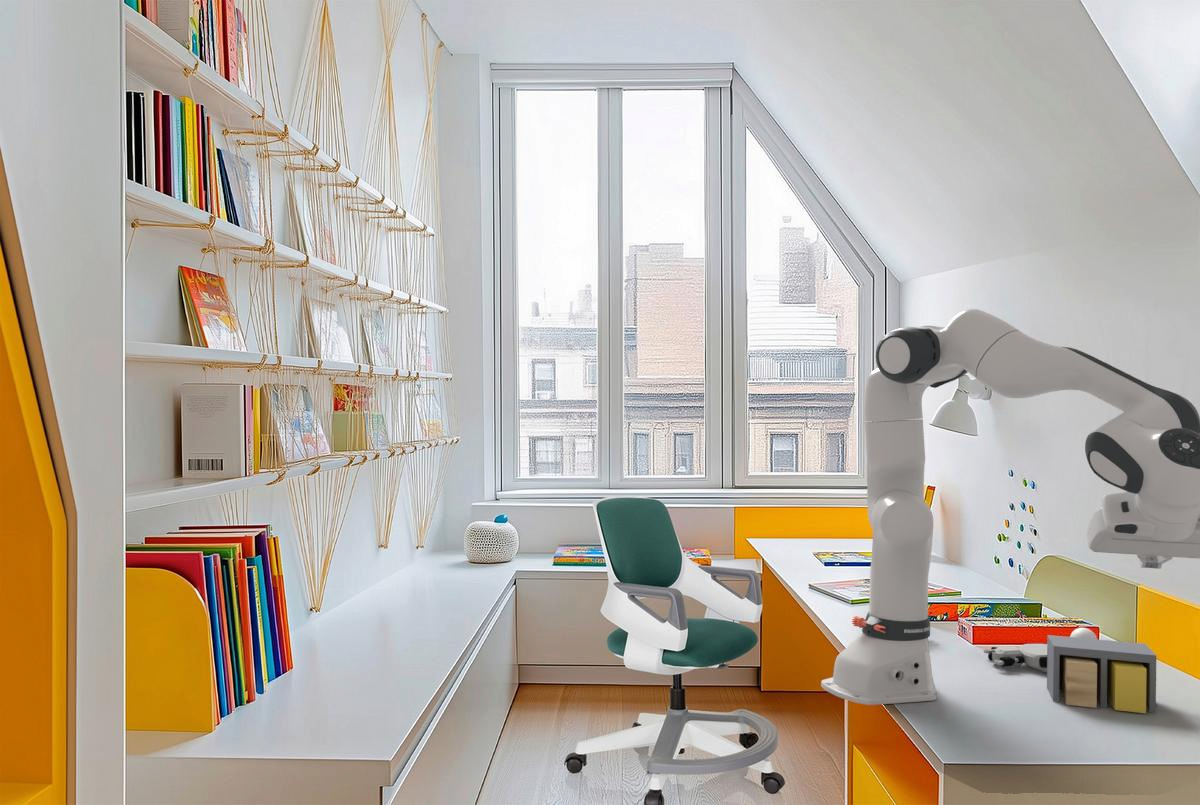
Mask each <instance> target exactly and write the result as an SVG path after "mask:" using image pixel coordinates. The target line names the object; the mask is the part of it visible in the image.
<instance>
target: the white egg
mask: <svg viewBox="0 0 1200 805" xmlns="http://www.w3.org/2000/svg"><path fill="white" fill-rule="evenodd" d="M1069 637H1075V638H1087V639H1098V637H1097V635H1096V633H1095V632H1093V630H1091V629H1089V628H1086V627H1078V628H1075V629H1074V630H1073V631H1072V632H1071V634H1070V636H1069Z"/></svg>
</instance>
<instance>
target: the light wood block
mask: <svg viewBox="0 0 1200 805" xmlns="http://www.w3.org/2000/svg"><path fill="white" fill-rule="evenodd" d="M1059 693H1060V695H1061V696H1062V698H1063V700H1064V703H1065V705H1067V706H1078V707H1087V708H1095V709H1097V706H1098V702H1097V664H1096V662H1095V661H1094V659H1093V658H1091V657H1080V656H1070V655H1061V674H1060V691H1059Z"/></svg>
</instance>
